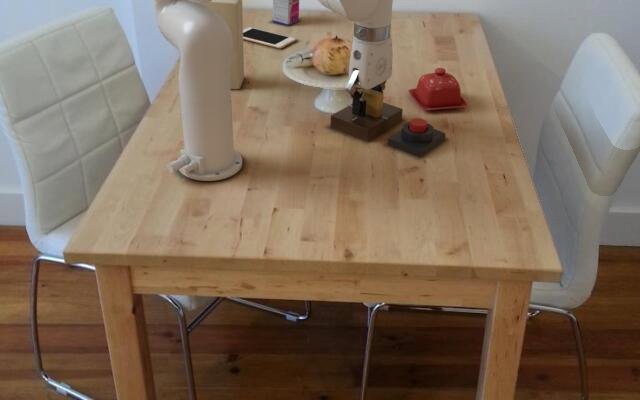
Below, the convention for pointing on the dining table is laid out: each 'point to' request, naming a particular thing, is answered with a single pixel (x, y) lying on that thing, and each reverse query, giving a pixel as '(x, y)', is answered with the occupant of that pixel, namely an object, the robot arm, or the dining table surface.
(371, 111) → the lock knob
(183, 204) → the dining table surface
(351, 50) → the robot arm
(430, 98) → the butter dish
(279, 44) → the cell phone
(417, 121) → the alarm button
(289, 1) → the supplement box
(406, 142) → the alarm box
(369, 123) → the plate
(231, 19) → the toy refrigerator
